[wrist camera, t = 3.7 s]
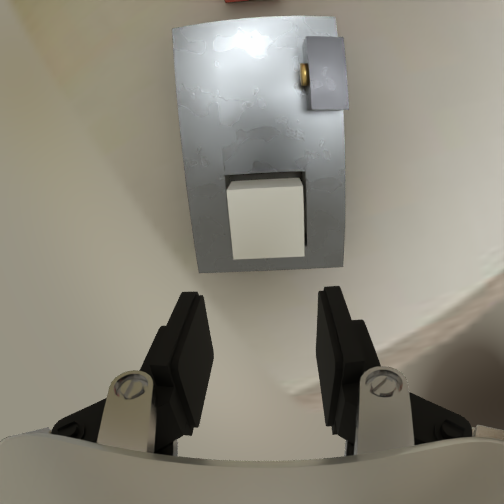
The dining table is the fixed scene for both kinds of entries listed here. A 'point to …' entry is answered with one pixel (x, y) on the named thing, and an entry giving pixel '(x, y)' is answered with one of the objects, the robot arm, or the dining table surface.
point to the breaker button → (266, 218)
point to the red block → (233, 0)
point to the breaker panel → (263, 127)
